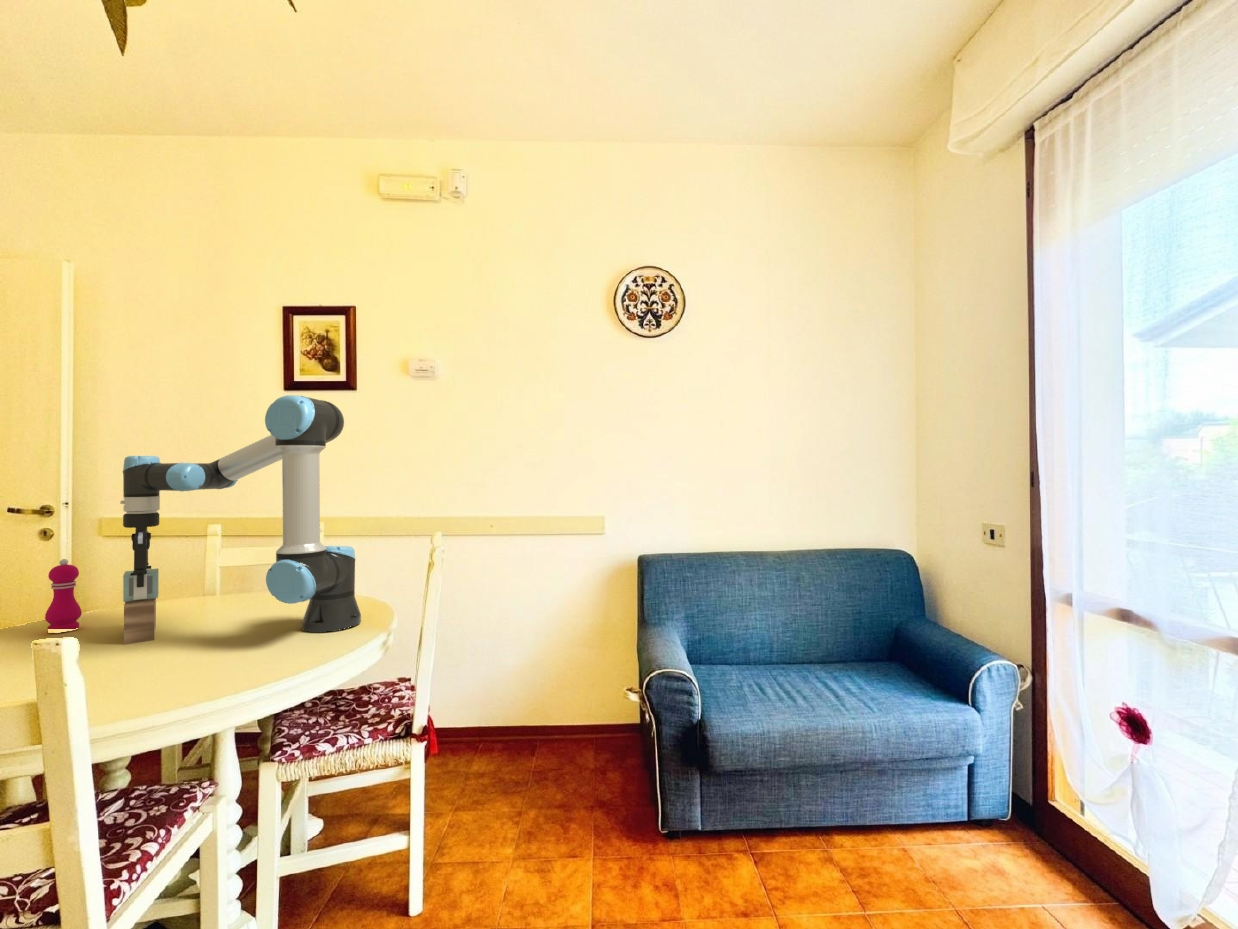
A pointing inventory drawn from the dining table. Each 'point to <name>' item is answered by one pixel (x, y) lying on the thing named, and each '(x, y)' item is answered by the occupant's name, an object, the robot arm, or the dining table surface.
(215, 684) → the dining table surface
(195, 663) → the dining table surface
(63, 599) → the pepper mill
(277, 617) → the dining table surface
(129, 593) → the letter cube
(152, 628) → the walnut box
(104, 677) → the dining table surface
